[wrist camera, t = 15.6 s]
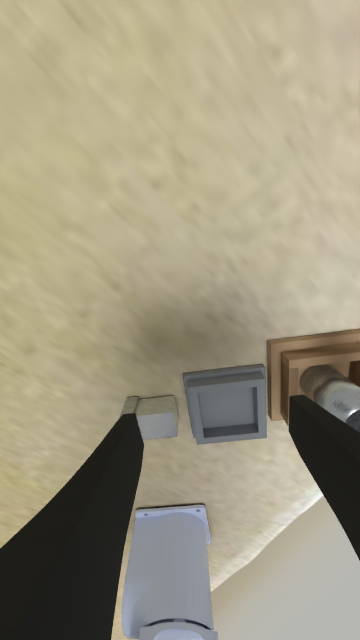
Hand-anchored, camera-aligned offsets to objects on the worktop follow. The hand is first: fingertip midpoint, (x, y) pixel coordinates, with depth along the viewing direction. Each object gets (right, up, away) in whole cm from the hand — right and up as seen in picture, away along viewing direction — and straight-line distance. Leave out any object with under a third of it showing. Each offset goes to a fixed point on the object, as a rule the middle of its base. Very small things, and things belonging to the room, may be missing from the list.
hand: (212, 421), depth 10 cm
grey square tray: (+3, -4, +12) cm, 13 cm away
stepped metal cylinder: (+12, -1, +10) cm, 16 cm away
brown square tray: (+12, -1, +11) cm, 16 cm away
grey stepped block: (-4, -5, +13) cm, 14 cm away
